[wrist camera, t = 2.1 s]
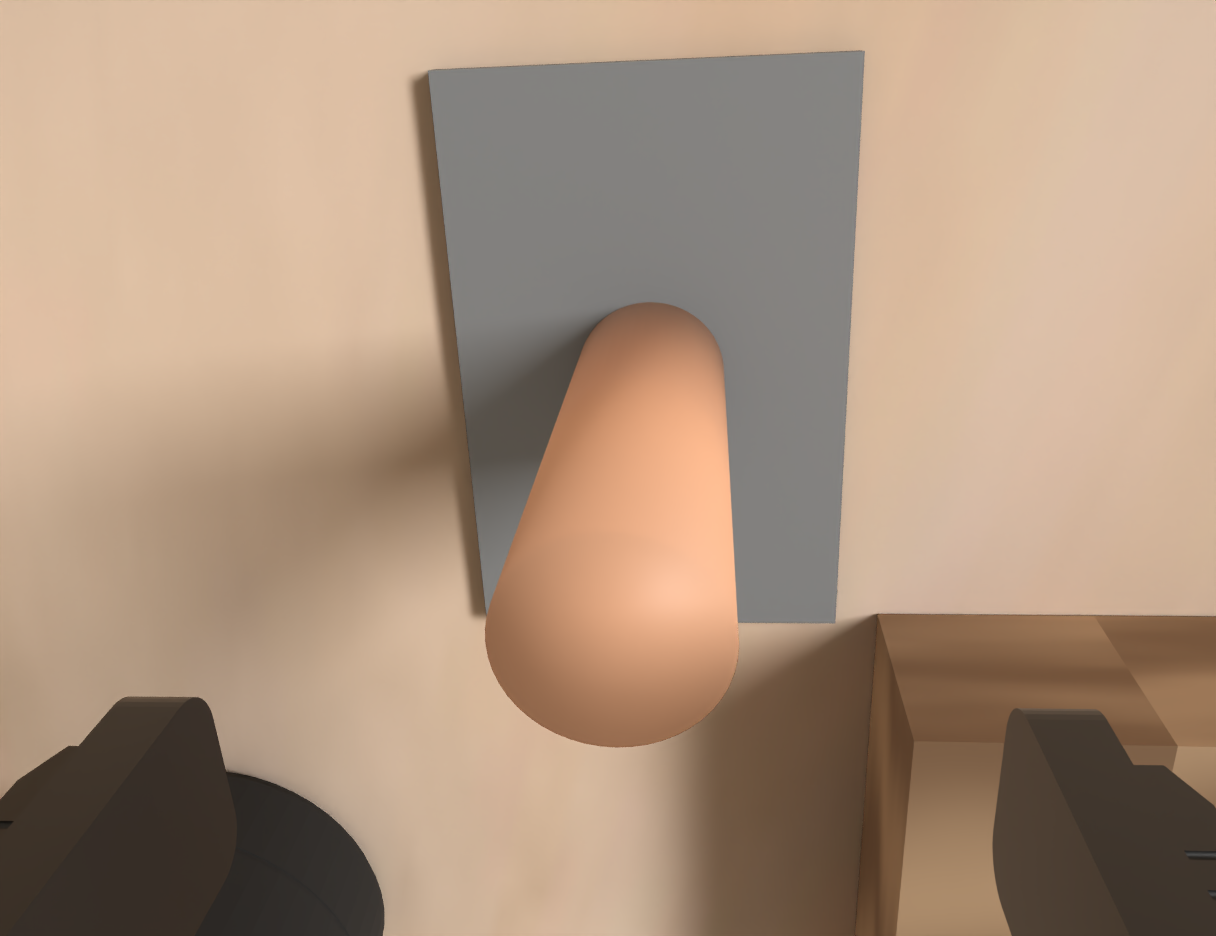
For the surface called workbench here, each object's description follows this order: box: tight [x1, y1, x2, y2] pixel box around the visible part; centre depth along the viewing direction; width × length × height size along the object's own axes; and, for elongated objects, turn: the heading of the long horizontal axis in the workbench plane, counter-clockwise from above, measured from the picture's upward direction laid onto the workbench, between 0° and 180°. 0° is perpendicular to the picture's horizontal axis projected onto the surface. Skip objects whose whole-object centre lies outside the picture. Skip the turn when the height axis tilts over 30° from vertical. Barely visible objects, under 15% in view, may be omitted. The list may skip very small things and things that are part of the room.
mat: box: [428, 51, 865, 623], centre depth 21 cm, size 12×8×1 cm, turn 2°
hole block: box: [855, 614, 1216, 936], centre depth 24 cm, size 14×14×4 cm
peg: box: [485, 302, 739, 747], centre depth 17 cm, size 3×3×10 cm
